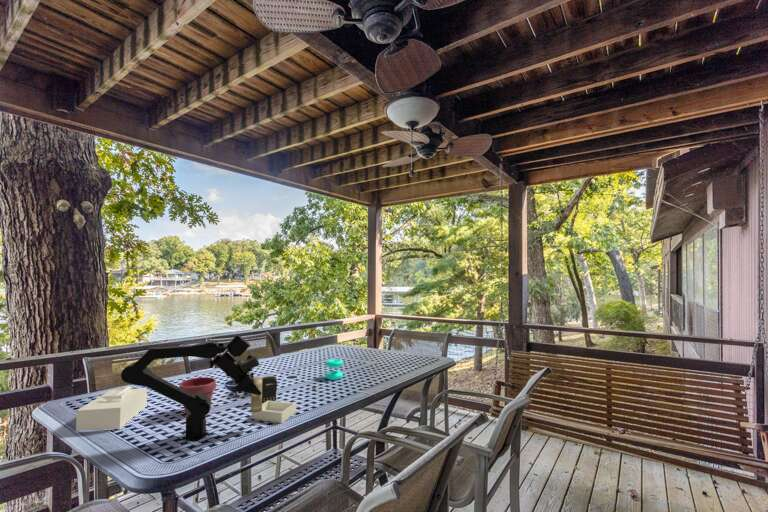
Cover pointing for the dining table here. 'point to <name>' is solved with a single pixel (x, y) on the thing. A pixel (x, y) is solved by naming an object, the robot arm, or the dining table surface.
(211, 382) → the plant pot
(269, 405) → the tray
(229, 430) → the dining table surface
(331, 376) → the teal hourglass-shaped piece
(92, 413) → the tissue box
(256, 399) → the pin
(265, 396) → the battery charger
